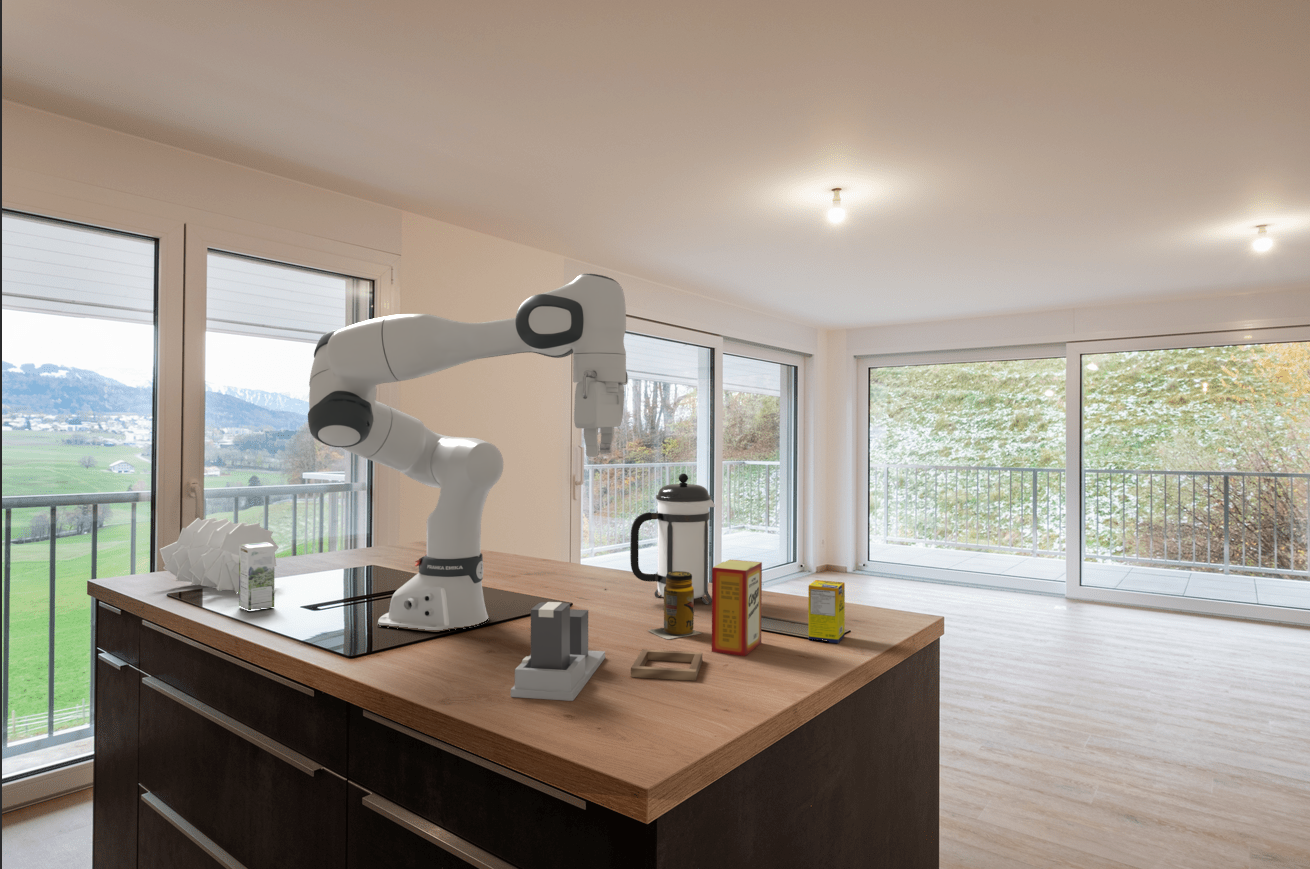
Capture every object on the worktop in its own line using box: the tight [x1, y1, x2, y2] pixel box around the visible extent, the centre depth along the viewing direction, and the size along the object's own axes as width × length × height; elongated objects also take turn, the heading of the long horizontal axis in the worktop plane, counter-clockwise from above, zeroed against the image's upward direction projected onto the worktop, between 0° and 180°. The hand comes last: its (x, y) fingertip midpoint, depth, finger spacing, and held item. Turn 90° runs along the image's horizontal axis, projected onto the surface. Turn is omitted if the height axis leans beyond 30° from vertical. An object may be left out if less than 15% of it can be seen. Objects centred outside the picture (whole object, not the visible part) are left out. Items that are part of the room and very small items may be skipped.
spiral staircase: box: [159, 516, 280, 593], centre depth 201 cm, size 18×18×25 cm
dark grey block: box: [530, 601, 571, 670], centre depth 129 cm, size 5×5×12 cm
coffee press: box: [629, 473, 716, 605], centre depth 189 cm, size 17×16×30 cm
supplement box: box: [807, 579, 846, 644], centre depth 158 cm, size 6×6×11 cm
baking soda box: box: [711, 559, 763, 657], centre depth 152 cm, size 10×6×16 cm
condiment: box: [647, 571, 702, 640], centre depth 162 cm, size 7×8×12 cm
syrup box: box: [238, 542, 276, 610], centre depth 181 cm, size 6×6×14 cm
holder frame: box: [630, 648, 703, 682], centre depth 139 cm, size 11×11×2 cm
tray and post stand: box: [510, 608, 606, 702], centre depth 135 cm, size 22×10×9 cm, turn 171°
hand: (599, 455), depth 135 cm, fingers open, 8 cm apart
